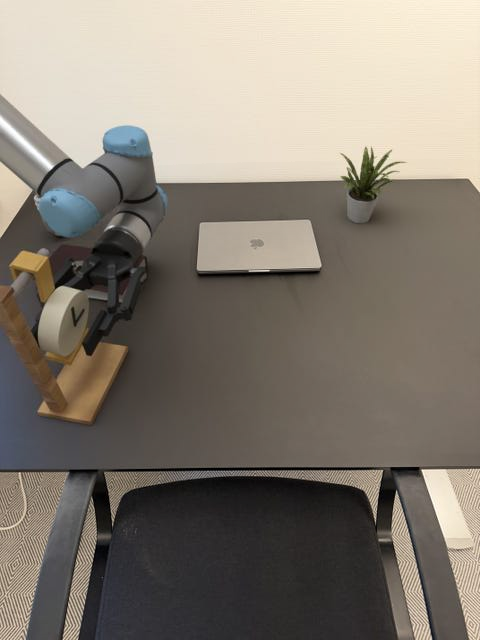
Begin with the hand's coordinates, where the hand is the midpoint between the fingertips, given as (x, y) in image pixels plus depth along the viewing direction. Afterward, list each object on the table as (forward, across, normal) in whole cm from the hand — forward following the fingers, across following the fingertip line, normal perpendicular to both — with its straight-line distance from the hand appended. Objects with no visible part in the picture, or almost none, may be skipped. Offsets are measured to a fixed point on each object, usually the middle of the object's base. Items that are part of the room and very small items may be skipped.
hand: (59, 345), depth 65 cm
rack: (-4, +2, -15) cm, 15 cm away
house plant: (-60, -42, -15) cm, 75 cm away
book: (-29, +12, -15) cm, 35 cm away
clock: (-5, +5, -6) cm, 9 cm away
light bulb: (-41, +25, -15) cm, 51 cm away
